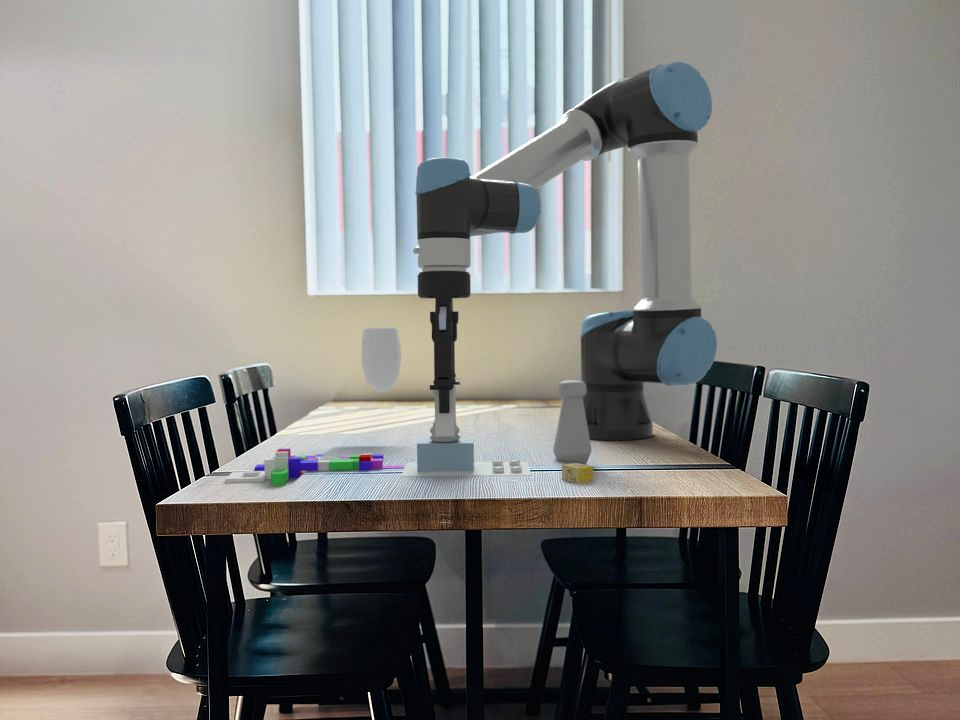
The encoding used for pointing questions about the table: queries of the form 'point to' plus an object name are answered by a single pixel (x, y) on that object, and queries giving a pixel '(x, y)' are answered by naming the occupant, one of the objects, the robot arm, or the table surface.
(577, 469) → the alphabet block
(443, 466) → the blue brick
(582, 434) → the salt shaker
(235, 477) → the building block set
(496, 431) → the table surface
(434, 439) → the rook chess piece
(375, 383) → the cup
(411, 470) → the build plate
